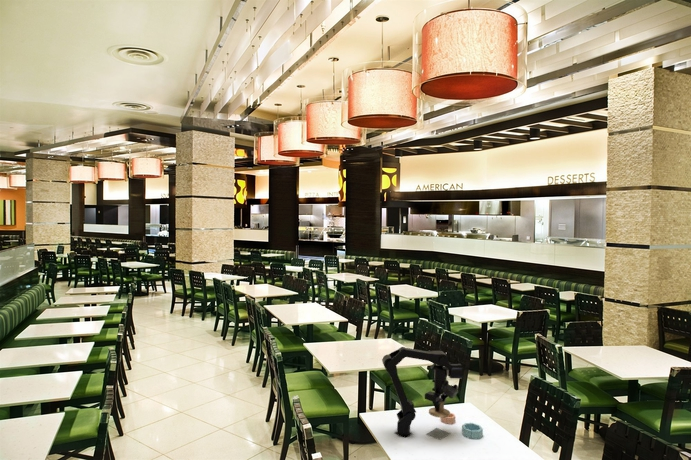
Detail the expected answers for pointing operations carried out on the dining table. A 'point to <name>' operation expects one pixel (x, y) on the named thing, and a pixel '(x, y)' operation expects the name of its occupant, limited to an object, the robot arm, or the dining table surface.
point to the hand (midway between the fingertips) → (439, 410)
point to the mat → (438, 433)
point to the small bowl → (449, 419)
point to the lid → (441, 413)
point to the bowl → (472, 430)
